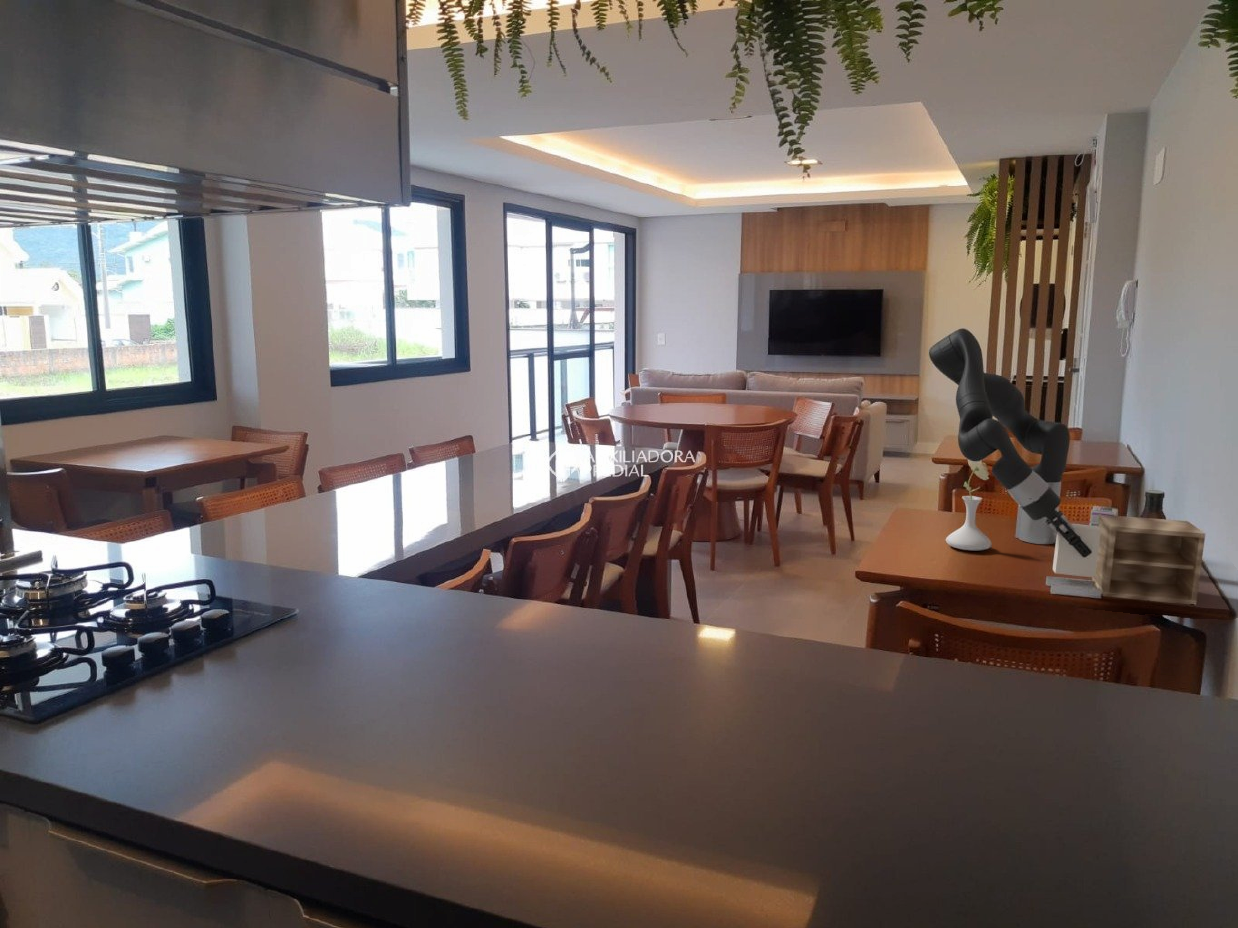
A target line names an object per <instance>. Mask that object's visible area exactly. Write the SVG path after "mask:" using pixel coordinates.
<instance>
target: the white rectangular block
mask: <svg viewBox="0 0 1238 928" xmlns="http://www.w3.org/2000/svg"><path fill="white" fill-rule="evenodd" d="M1070 524H1071V525H1072V526H1073V527H1074V528H1075V531H1074V532H1075V533H1076V534H1077V535H1078V536H1080V537H1081V540H1082V541H1083V542H1084V543H1085V544H1086V546H1087V547H1088V548H1089V549H1090V550H1091V551H1092V553H1091V554H1090V555H1088V556H1087V557H1082V556H1081V554H1080V553H1079V552H1078V551H1077V550H1076V549H1075V548H1074V547H1073V546H1071V545H1069V542H1068V541H1067V540H1066V539H1065V538H1061V537H1060V536H1059V535H1058V533H1057V532H1056V538H1055V547H1054V552H1053V553H1054V555H1053V562H1052V571H1053V572H1054V574H1057V575H1058V574H1059V575H1067V576H1068V575H1069V576H1074V577H1075V576H1077V577H1084V578H1085V577H1086V578H1087V577H1088V578H1092V577H1094V578H1095V571H1096V564H1097V556H1098V549H1099V541H1100V534H1101V529H1100V528H1099V527H1098V526H1092V525H1090V524H1079V523H1070ZM1073 537H1075V535H1072V536H1071V537H1069V538H1068V539H1069V540H1070V539H1072V538H1073Z"/></svg>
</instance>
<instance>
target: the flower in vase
mask: <svg viewBox="0 0 1238 928" xmlns="http://www.w3.org/2000/svg"><path fill="white" fill-rule="evenodd" d="M967 462H968V464H967V465H968V466H969V467H970V468H971V469H970V470H971V471H972V472H971V475H970V476H969V479H968V480H967V481H964V484H963V487H964V488H966V489H967V490H968V492H969V493H968V494H969V495H963V496H962V497H961V499H962V500H963V502H964V504H965V508H966V513H965V514H966V516H965V521H964V524H963V525H962V526H961V527H959V528H957V529H956V530H954V531H953V532H952V533H949V535H947V536H946V538H945V541H946V544H948V545H950V546H951V547H952V548H956V549H959V550H962V551H972V552H973V551H985V550H988V549H990V548H991V546H992V545H993V544H992V541H991V540H990V539H989V537H988V536H986V534H985V533H984V532H982V531H981V530H980V529H979V528H978V527H977V524H976V514H977V509H978V506H979V504H980V503H981V502H982V501H983V497H980V496H974V495H972V493H973V492H974V491H977V490H980V488H981V486H979V485H978V487H976V488H973V489H972V490H971V487H970V482H971V479H972V476H974V474H975V475H976V476H977V478H979V479H981V480H983V481H987V480H989V479H990V477H989V475H990V471H988V470H989V469H988V467H987V463H985V462H983V460H980V461H971V460H968V459H967Z"/></svg>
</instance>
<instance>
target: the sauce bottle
mask: <svg viewBox="0 0 1238 928" xmlns="http://www.w3.org/2000/svg"><path fill="white" fill-rule="evenodd" d="M1144 497H1145V500H1144V506H1143V507H1144V509H1143V510H1142V512H1141V514H1140V516H1139V518H1152V519H1165V520H1167V517H1166V515H1165V513H1164V509H1163V508H1164V507H1163V505H1164V499H1165V492H1164V491H1162V490H1157V489H1156V490H1155V489H1147V490H1145V493H1144Z"/></svg>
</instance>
